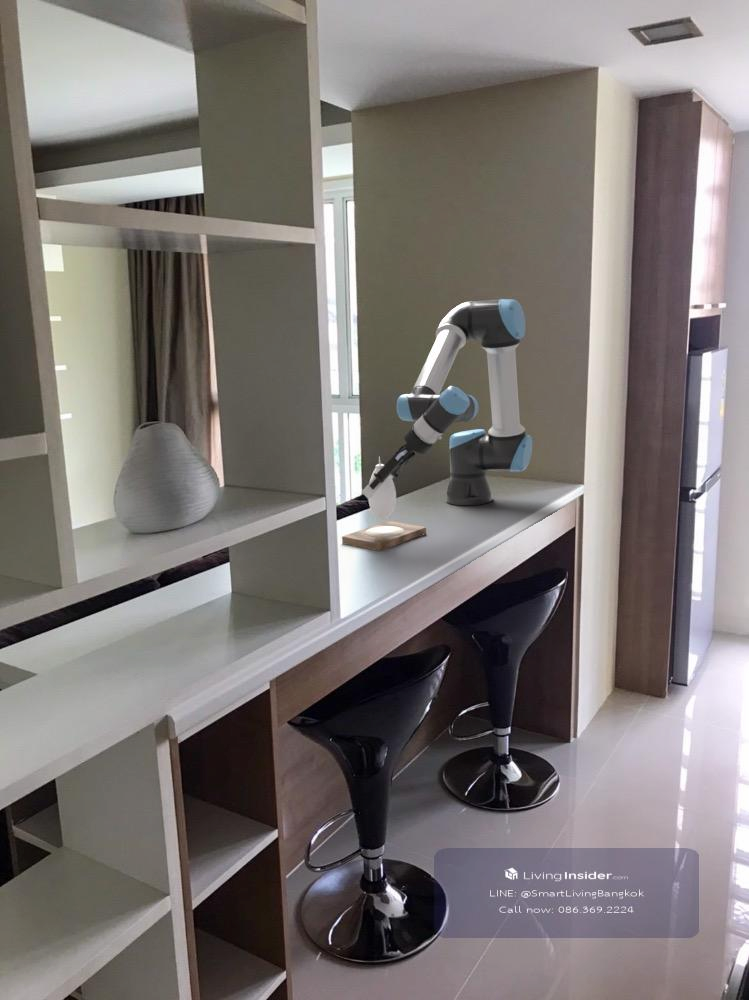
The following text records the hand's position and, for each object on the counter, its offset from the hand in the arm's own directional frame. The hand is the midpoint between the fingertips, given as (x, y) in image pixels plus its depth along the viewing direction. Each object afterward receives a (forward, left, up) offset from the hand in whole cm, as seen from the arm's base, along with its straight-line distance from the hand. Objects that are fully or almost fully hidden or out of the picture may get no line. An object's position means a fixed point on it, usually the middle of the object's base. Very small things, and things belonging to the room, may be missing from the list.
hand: (370, 491), depth 233 cm
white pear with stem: (-1, +3, -8) cm, 8 cm away
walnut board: (-2, +3, -13) cm, 14 cm away
